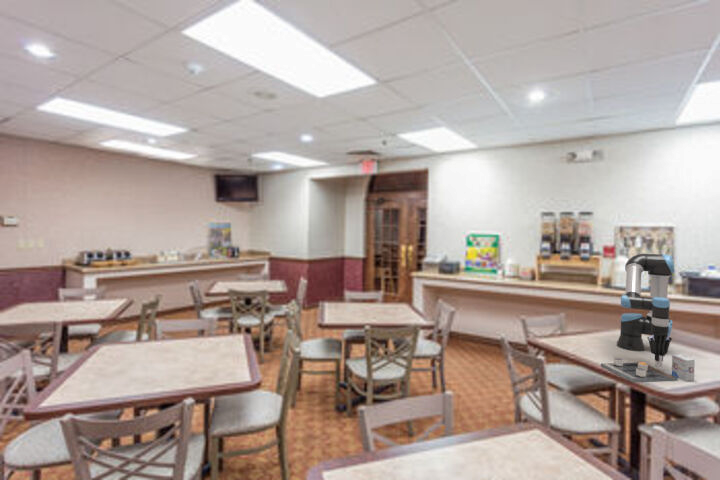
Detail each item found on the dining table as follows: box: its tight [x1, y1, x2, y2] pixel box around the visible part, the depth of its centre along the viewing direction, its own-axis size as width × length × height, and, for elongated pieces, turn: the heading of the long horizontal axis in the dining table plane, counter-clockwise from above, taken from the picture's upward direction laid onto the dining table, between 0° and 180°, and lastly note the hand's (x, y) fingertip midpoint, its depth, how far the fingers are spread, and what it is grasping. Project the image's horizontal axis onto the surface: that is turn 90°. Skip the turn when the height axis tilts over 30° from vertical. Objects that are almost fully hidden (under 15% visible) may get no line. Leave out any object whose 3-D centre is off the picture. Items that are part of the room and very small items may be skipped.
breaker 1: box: [613, 357, 624, 366], centre depth 206 cm, size 3×3×4 cm
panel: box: [600, 362, 679, 383], centre depth 199 cm, size 26×22×2 cm
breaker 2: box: [636, 368, 646, 377], centre depth 191 cm, size 3×3×4 cm
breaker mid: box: [637, 361, 648, 371], centre depth 199 cm, size 3×3×4 cm
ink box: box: [671, 353, 696, 382], centre depth 193 cm, size 9×5×12 cm, turn 5°
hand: (658, 366), depth 200 cm, fingers closed
